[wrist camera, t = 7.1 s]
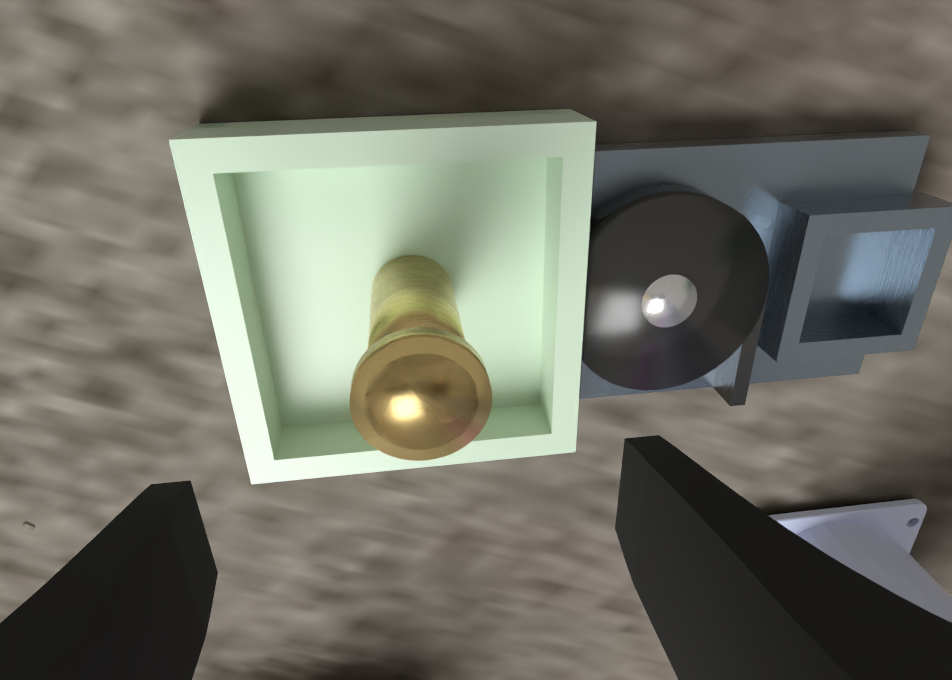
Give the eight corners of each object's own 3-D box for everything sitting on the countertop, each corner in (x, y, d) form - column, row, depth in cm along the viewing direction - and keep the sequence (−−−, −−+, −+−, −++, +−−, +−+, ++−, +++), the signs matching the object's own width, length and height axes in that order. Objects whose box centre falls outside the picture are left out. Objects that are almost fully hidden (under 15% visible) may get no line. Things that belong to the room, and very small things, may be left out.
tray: (556, 408, 22) (575, 452, 20) (265, 435, 21) (251, 484, 19) (569, 108, 17) (596, 121, 15) (198, 124, 16) (168, 139, 14)
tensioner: (847, 359, 23) (898, 395, 20) (539, 386, 21) (556, 427, 19) (914, 129, 19) (983, 143, 17) (546, 146, 18) (568, 164, 16)
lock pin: (464, 334, 19) (492, 453, 14) (366, 342, 19) (358, 467, 14) (461, 241, 18) (491, 334, 13) (355, 248, 18) (341, 346, 12)
